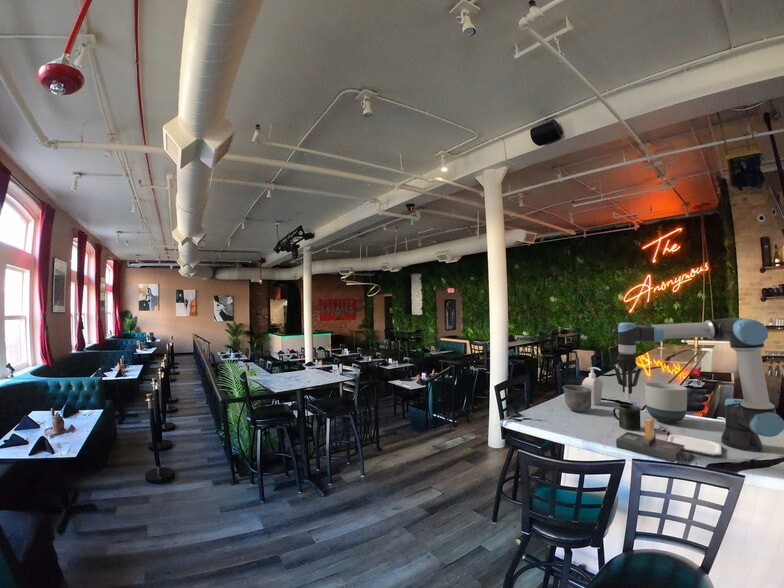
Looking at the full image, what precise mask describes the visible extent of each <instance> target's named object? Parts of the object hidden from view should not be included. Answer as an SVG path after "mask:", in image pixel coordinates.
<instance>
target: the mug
mask: <svg viewBox="0 0 784 588" xmlns="http://www.w3.org/2000/svg"><path fill="white" fill-rule="evenodd" d="M616 410H617V411H618V416H617V413H616ZM641 410H642V408H641V407H639V406H637V405H633V404H617V407H614V408H613V409H612V414H613V417H614V418H615V419H616V420H617V421H618V426H619V428H621V429H623V430H626V431H627V430H628V431H634V432H637V431H640V430H641Z"/></svg>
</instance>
